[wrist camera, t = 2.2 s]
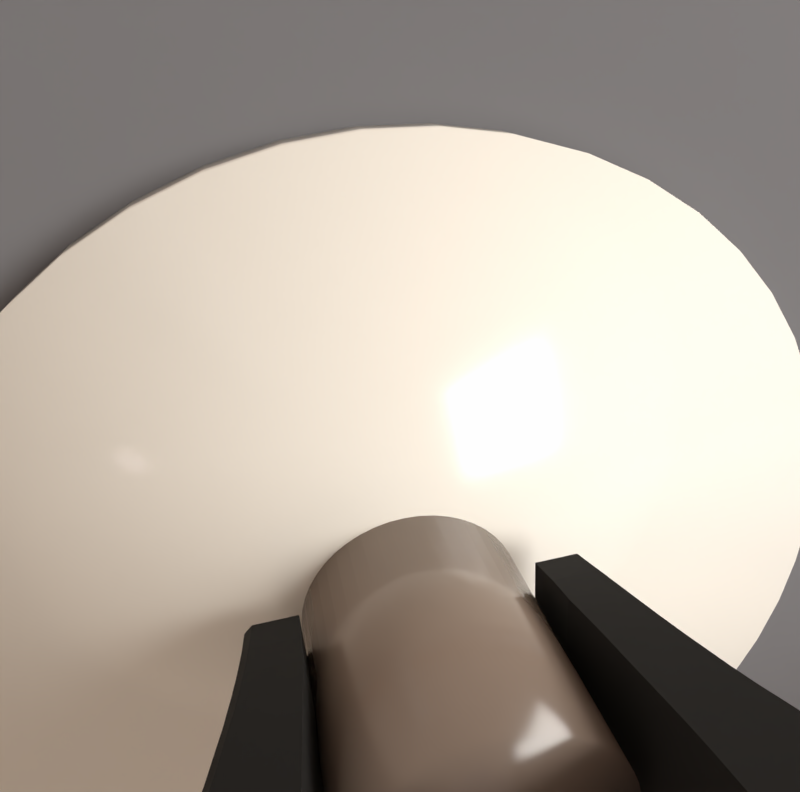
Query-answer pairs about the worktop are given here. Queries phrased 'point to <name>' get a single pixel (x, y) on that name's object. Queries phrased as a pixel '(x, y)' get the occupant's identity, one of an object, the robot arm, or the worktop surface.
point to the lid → (379, 458)
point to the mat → (410, 117)
